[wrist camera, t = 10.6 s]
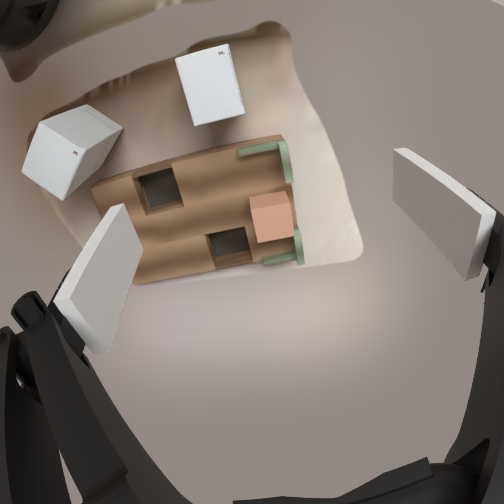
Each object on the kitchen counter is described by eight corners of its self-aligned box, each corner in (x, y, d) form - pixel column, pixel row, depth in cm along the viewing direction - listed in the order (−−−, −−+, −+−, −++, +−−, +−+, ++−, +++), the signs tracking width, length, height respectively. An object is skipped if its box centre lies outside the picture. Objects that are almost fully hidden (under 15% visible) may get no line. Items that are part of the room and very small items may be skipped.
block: (249, 197, 42) (250, 209, 38) (285, 190, 41) (289, 202, 38) (256, 228, 44) (257, 243, 41) (289, 221, 44) (294, 235, 41)
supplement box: (87, 102, 35) (39, 118, 24) (125, 127, 38) (87, 151, 27) (65, 143, 38) (19, 172, 27) (101, 168, 41) (62, 203, 30)
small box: (187, 61, 33) (172, 57, 25) (229, 50, 33) (228, 41, 24) (202, 115, 38) (192, 128, 29) (243, 104, 37) (246, 115, 29)
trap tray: (97, 181, 42) (81, 197, 37) (280, 134, 40) (287, 143, 35) (138, 274, 51) (129, 296, 46) (297, 242, 50) (304, 264, 45)
